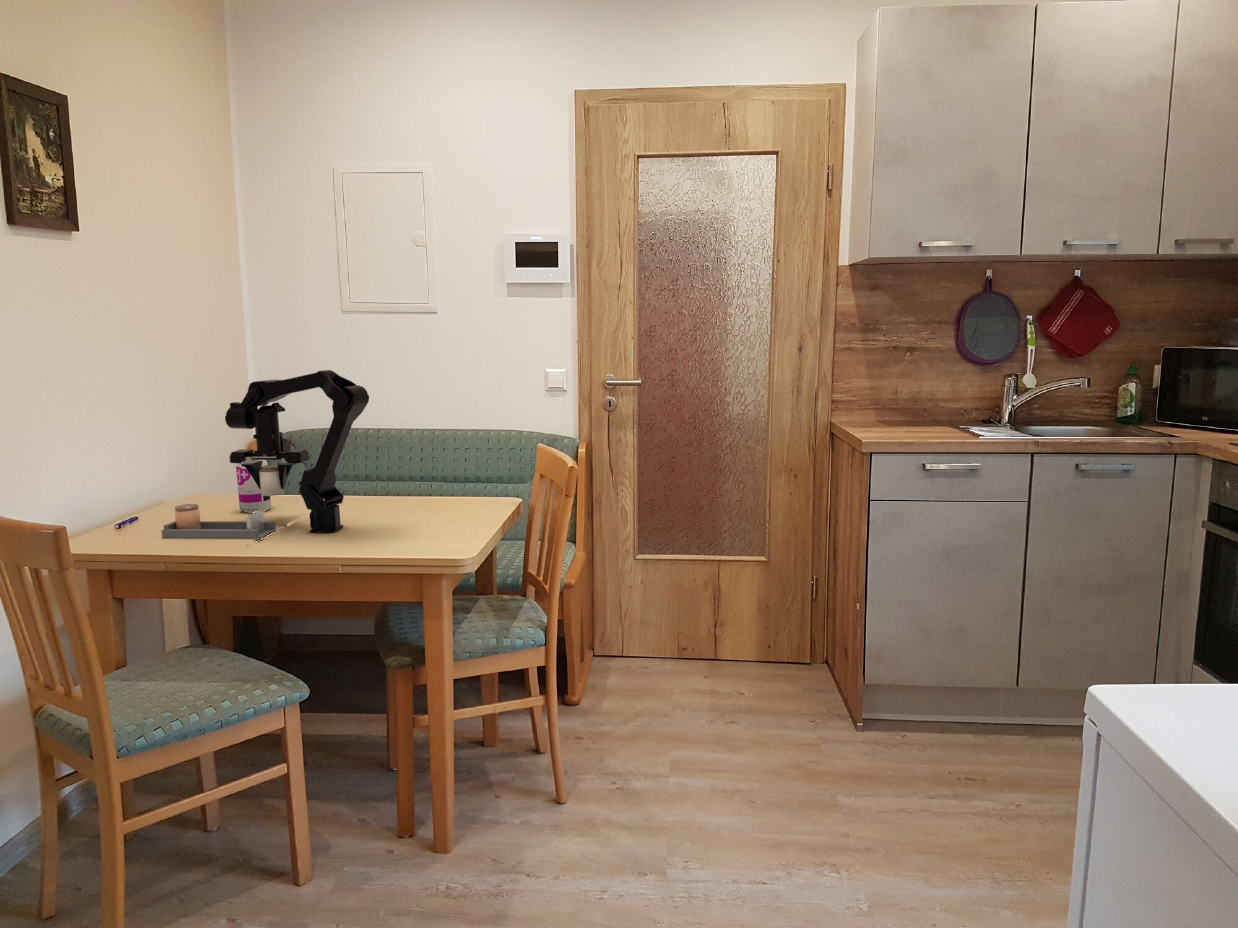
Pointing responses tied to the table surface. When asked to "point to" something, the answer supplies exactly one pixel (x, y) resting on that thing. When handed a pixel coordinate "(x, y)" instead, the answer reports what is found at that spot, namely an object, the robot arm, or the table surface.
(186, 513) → the front jar
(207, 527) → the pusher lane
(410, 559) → the table surface
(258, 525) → the plate
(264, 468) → the cream jar
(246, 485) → the supplement can
